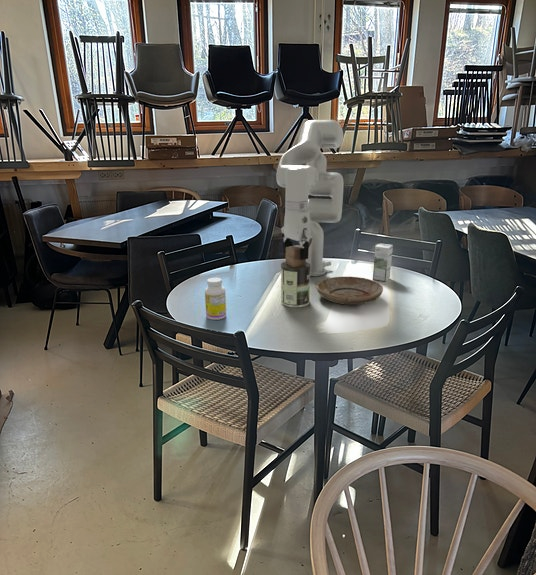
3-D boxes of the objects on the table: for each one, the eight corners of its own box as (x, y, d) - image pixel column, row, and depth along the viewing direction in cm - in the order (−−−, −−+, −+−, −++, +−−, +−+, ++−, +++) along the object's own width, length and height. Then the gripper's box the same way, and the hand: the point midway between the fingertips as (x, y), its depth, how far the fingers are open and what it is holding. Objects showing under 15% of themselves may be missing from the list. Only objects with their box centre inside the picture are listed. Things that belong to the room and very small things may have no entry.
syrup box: (390, 278, 180) (393, 244, 175) (385, 282, 175) (388, 247, 170) (376, 276, 183) (379, 242, 178) (372, 280, 178) (374, 245, 173)
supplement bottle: (208, 312, 146) (206, 276, 142) (227, 312, 146) (226, 276, 142) (204, 320, 140) (202, 283, 135) (225, 320, 140) (223, 283, 135)
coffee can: (308, 297, 159) (309, 260, 155) (310, 307, 150) (311, 268, 145) (280, 297, 160) (280, 260, 155) (280, 307, 150) (280, 268, 145)
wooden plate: (334, 284, 174) (335, 272, 172) (391, 295, 161) (392, 283, 159) (304, 301, 156) (305, 288, 154) (366, 316, 143) (367, 302, 141)
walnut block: (297, 261, 153) (297, 245, 151) (305, 265, 149) (306, 248, 147) (285, 263, 151) (285, 247, 149) (293, 267, 147) (293, 250, 145)
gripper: (321, 208, 138) (319, 260, 144) (291, 201, 152) (291, 249, 158) (302, 210, 135) (301, 263, 140) (273, 203, 149) (273, 252, 154)
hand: (295, 255), depth 149 cm, fingers open, 9 cm apart
